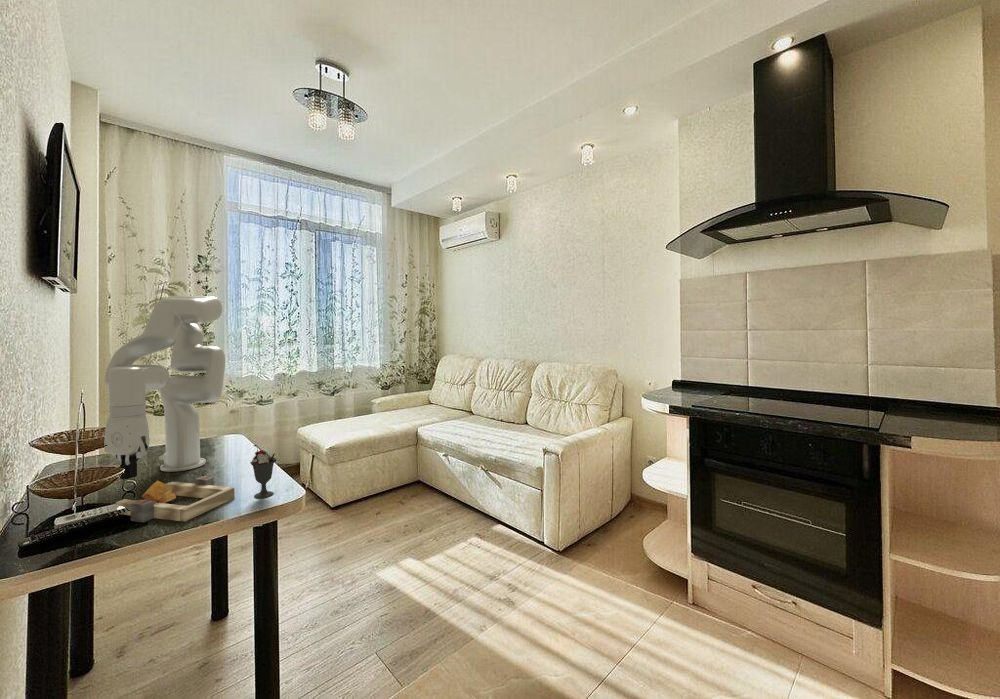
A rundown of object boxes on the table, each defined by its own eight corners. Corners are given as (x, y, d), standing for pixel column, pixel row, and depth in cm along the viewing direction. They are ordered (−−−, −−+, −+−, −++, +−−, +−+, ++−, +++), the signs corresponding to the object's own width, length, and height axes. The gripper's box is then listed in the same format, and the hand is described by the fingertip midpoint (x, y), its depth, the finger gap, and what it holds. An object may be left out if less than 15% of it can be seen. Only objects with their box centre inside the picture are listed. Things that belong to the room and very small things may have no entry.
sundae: (245, 496, 120) (244, 444, 119) (269, 489, 125) (268, 439, 125) (257, 501, 116) (256, 448, 115) (281, 494, 122) (280, 443, 121)
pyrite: (174, 497, 119) (162, 510, 115) (152, 484, 116) (140, 496, 113) (181, 491, 117) (170, 504, 113) (159, 478, 114) (146, 491, 111)
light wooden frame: (105, 517, 105) (104, 500, 105) (180, 488, 125) (179, 473, 125) (175, 526, 101) (175, 507, 101) (241, 494, 121) (241, 479, 121)
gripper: (90, 413, 113) (91, 480, 113) (135, 414, 110) (136, 484, 110) (120, 408, 120) (121, 472, 120) (163, 410, 117) (164, 475, 117)
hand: (128, 477), depth 115 cm, fingers closed
